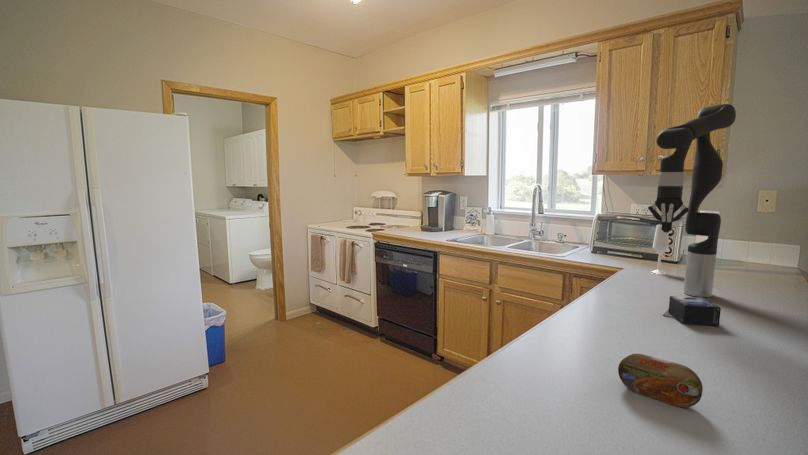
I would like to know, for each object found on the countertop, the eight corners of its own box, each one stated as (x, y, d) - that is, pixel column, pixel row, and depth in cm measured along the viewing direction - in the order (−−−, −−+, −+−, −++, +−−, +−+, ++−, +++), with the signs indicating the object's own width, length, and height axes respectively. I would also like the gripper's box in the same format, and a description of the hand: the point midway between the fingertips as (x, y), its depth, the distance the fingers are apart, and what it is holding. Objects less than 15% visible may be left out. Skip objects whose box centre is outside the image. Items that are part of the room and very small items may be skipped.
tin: (616, 386, 87) (619, 351, 86) (620, 381, 89) (623, 346, 88) (699, 415, 76) (703, 375, 75) (701, 408, 79) (706, 369, 78)
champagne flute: (647, 271, 194) (651, 224, 191) (659, 271, 195) (663, 224, 192) (657, 275, 187) (661, 226, 184) (669, 274, 188) (674, 226, 185)
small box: (721, 306, 121) (684, 304, 123) (720, 326, 122) (682, 324, 124) (703, 296, 131) (668, 295, 133) (701, 314, 132) (667, 313, 134)
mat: (671, 306, 141) (672, 305, 141) (707, 313, 134) (707, 312, 134) (662, 315, 132) (662, 314, 132) (701, 323, 124) (701, 322, 124)
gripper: (694, 185, 137) (690, 233, 140) (651, 184, 147) (648, 229, 149) (690, 185, 132) (686, 235, 134) (646, 184, 141) (642, 231, 144)
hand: (666, 232), depth 142 cm, fingers closed
